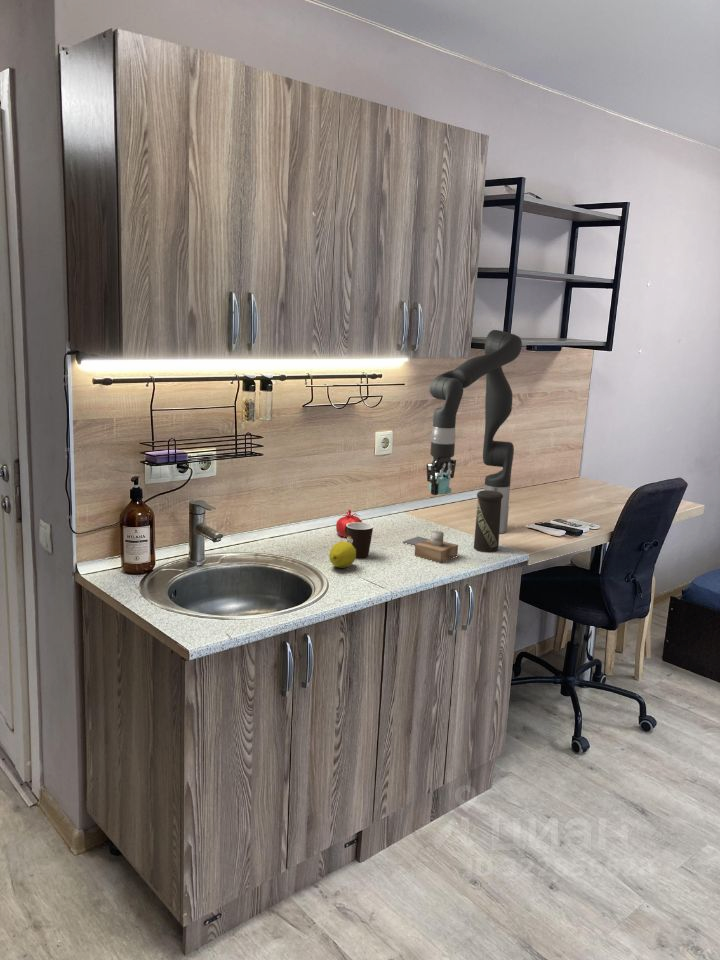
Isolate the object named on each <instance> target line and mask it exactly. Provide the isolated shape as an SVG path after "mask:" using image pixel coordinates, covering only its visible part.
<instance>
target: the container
mask: <svg viewBox="0 0 720 960" xmlns="http://www.w3.org/2000/svg"><path fill="white" fill-rule="evenodd" d="M476 497H477V507H476V517H475V528H474V529H475V531H474V540H473V549H475V551H479V552H483V553H486V552H487V553H493V551H494V552H497V551H498V550H499V545H500V533H499V531H500V513H501V500H502V498H503V495H502V494H501V493H500V492H497V491H490V490H484V489H483V490H480V491H478V492H477V493H476Z"/></svg>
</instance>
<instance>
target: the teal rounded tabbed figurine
mask: <svg viewBox="0 0 720 960" xmlns="http://www.w3.org/2000/svg"><path fill="white" fill-rule="evenodd" d="M435 477H436V478H437V476H435ZM438 484H439V485H438V495H448V494H451V493H452V487H450V481H449V478H446V477H440V479H439V483H438ZM428 490H430V491H431V483H429V484H428Z"/></svg>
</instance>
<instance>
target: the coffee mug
mask: <svg viewBox="0 0 720 960" xmlns="http://www.w3.org/2000/svg"><path fill="white" fill-rule="evenodd" d="M362 522H363V521H362ZM362 522H353V523H348V524H347V525H346V526H345V533H346V536H347V538H346V542H349V543H350V544H352V545H353V546H354V548H355V550H356V558H355V560H357V559H358V560H362V559H363V560H364V559H368V557H369V555H370V548H371V542H372V536H373V530H374V525H373V524H371V523H368V522H363V523H362Z"/></svg>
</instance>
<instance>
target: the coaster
mask: <svg viewBox="0 0 720 960" xmlns="http://www.w3.org/2000/svg"><path fill="white" fill-rule="evenodd" d="M430 539H431V538H425V537H421V536H414V537H412V538H410V539H409V538H408V539H406V540H403V541H402V544H405V543H407V544H406V545H408V544H411V545H410V546H412V545H414V546H413V547H415V544H418V543H421V542H424V541H427V540H430Z"/></svg>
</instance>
